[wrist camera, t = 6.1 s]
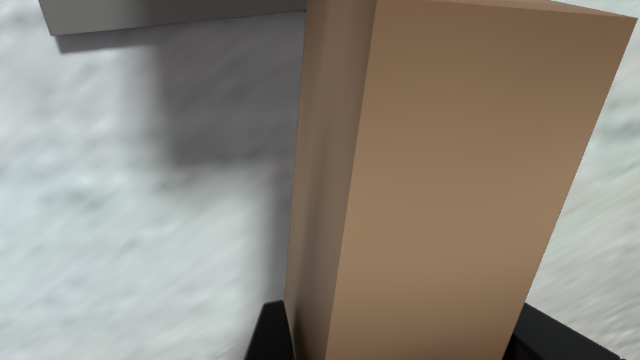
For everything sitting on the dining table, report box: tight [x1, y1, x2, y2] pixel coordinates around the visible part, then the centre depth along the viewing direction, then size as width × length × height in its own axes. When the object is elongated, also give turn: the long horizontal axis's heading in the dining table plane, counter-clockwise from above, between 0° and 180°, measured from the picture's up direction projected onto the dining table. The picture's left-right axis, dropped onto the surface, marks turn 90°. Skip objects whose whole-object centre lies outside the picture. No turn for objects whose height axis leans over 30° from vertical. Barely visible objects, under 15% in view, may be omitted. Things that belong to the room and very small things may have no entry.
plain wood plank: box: [284, 0, 638, 360], centre depth 9 cm, size 12×3×4 cm, turn 174°
